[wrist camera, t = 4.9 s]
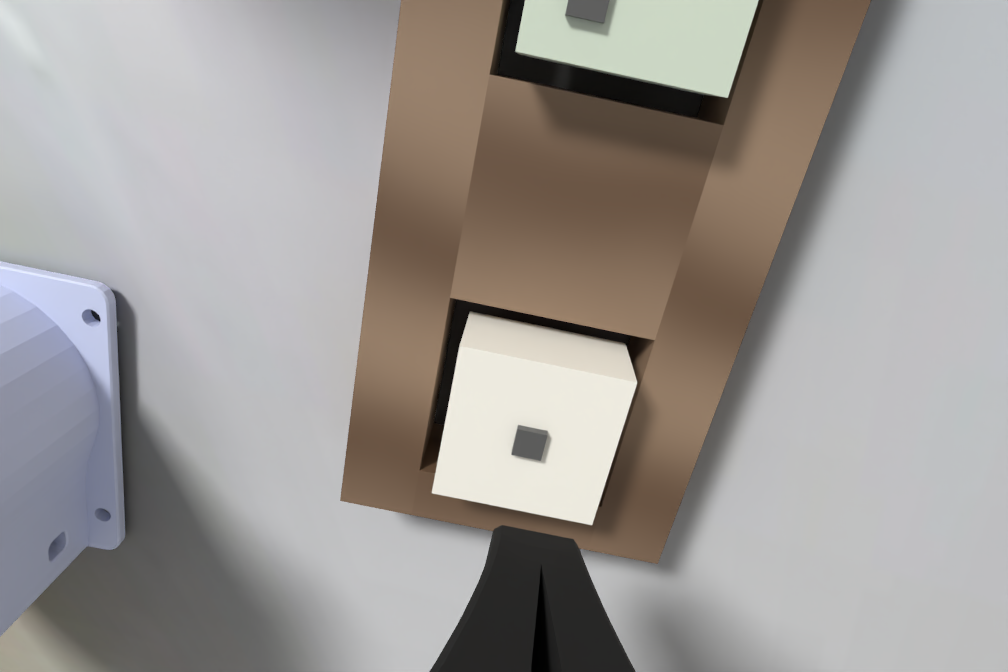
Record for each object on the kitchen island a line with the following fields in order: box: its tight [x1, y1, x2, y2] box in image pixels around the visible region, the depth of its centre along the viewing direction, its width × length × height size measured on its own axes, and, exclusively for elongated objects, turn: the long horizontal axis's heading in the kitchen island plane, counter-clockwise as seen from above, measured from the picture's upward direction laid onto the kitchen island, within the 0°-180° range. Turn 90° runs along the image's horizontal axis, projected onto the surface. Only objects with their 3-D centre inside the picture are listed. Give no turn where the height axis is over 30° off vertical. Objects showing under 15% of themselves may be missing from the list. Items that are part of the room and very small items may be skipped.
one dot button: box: [432, 311, 637, 525], centre depth 16 cm, size 4×4×2 cm
